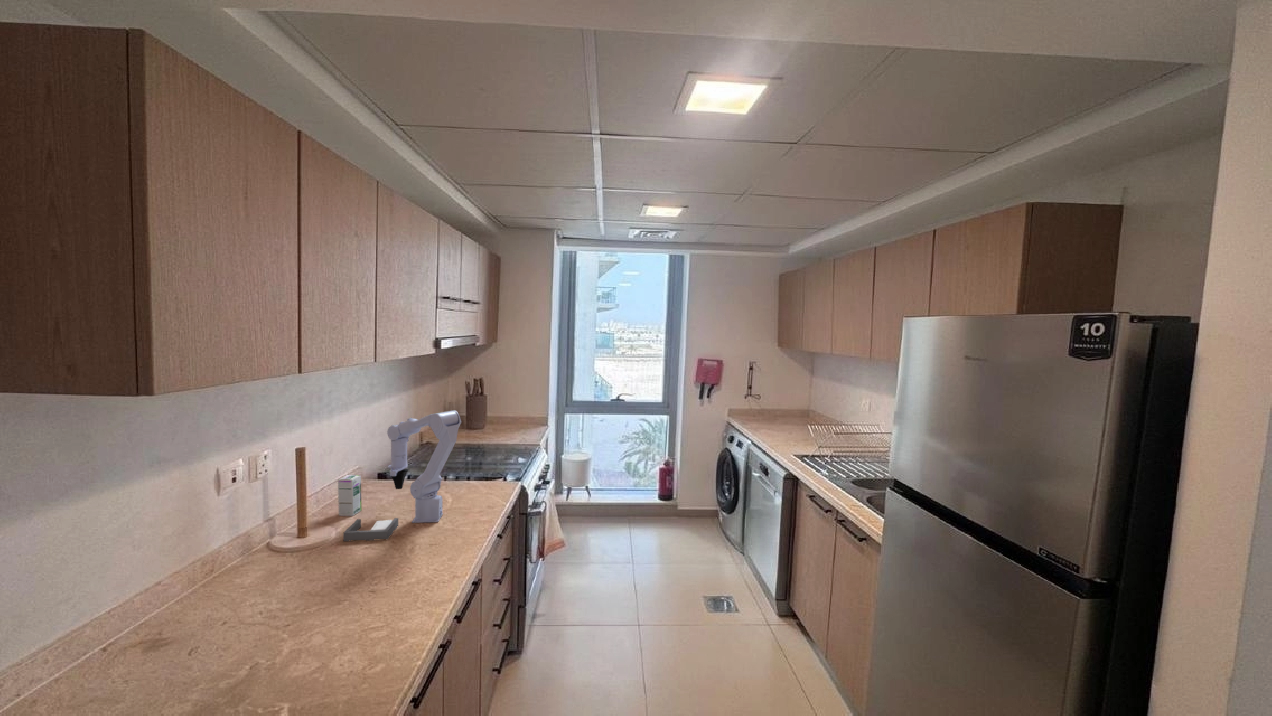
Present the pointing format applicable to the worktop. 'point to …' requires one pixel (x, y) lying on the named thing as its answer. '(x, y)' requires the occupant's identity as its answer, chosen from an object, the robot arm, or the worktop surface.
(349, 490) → the syrup box
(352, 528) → the box
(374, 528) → the soap
